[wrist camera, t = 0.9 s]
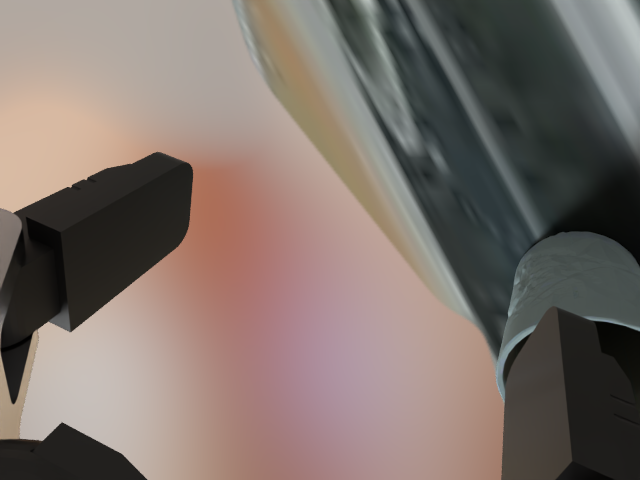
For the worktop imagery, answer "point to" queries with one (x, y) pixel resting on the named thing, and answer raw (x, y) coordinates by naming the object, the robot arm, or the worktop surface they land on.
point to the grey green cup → (577, 298)
